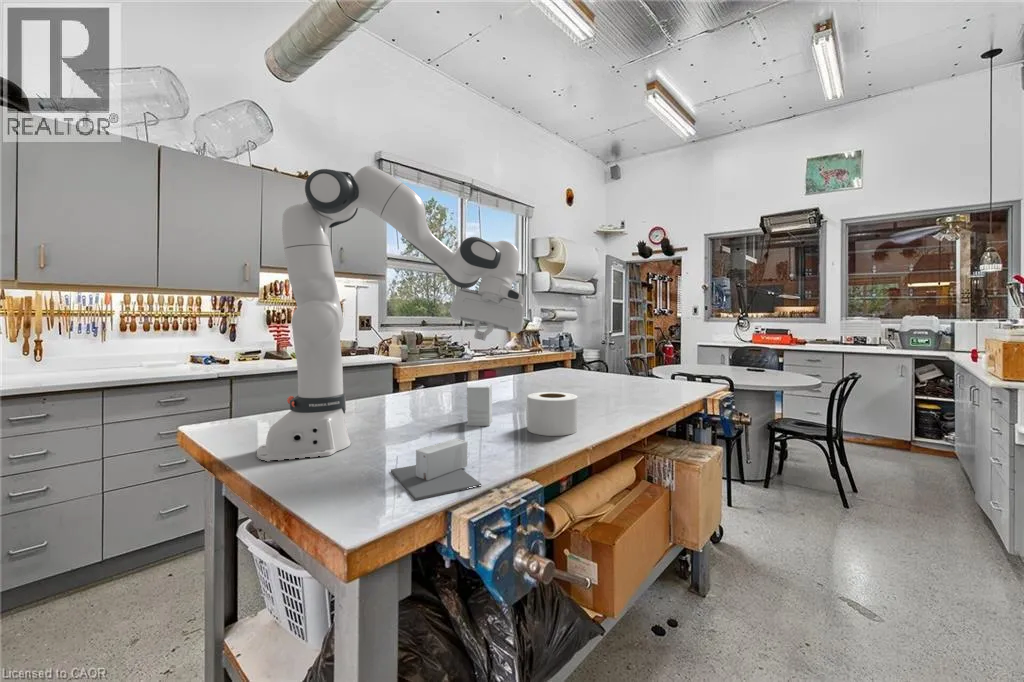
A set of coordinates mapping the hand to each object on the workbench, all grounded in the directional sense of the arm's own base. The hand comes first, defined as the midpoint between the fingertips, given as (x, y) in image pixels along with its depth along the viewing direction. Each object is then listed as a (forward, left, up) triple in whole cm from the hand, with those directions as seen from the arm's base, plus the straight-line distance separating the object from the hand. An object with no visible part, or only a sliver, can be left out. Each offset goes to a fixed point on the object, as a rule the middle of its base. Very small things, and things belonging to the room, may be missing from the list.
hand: (479, 338), depth 118 cm
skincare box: (-10, -12, -26) cm, 30 cm away
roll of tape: (+27, +5, -29) cm, 40 cm away
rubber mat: (-19, -16, -29) cm, 38 cm away
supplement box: (+11, +23, -29) cm, 39 cm away
